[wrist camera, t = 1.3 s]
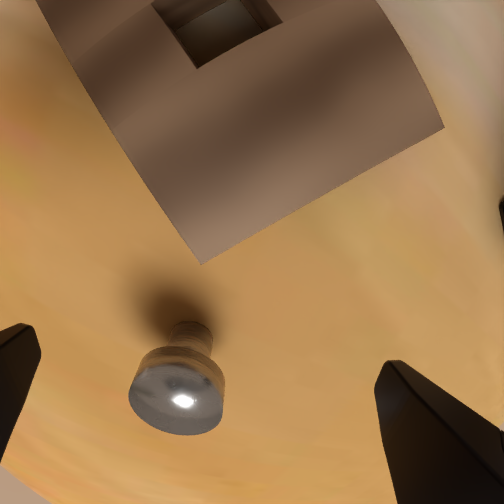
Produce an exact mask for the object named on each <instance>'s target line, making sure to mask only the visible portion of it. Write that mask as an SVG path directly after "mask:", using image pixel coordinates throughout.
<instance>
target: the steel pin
mask: <svg viewBox="0 0 504 504" xmlns="http://www.w3.org/2000/svg"><path fill="white" fill-rule="evenodd" d="M212 344H213V337H212V334H211V333H210V331H209V330H208V329H207V328H206V327H205V326H203V325H202V324H199V323H197V322H192V321H185V322H181V323H179V324H177V325H176V326H175V327H174V328H173V329H172V332H171V334H170V337H169V340H168V343H167V346H166V347H160V348H157V349H154V350H152V351H150V352H149V353H148V354H146V355H145V356H144V358H143V359H142V361H141V363H140V365H139V368H138V370H137V372H136V375H135V377H134V380H133V382H132V385H131V387H130V390H129V402H130V405H131V407H132V409H133V410H134V412H135V413H136V414H137V415H138V416H139V417H140V418H141V419H142V420H143V421H145V422H146V423H148V424H149V425H151V426H153V427H155V428H157V429H159V430H161V431H164V432H168V433H171V434H176V435H198V434H202V433H205V432H208V431H210V430H212V429H213V428H215V427H216V426H217V425H218V424H219V422H220V421H221V418H222V413H223V402H224V391H225V379H224V375H223V373H222V371H221V369H220V368H219V367H218V365H217V364H216V363H215V362H214V361H213V360H211V359H210V356H211V350H212Z"/></svg>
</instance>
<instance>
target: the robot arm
mask: <svg viewBox="0 0 504 504" xmlns="http://www.w3.org/2000/svg"><path fill="white" fill-rule="evenodd" d="M500 212H501V217H502V222H503V227H504V200H503V201H502V202H501V204H500ZM40 359H41V349H40V346H39V342H38V339H37V336H36V333H35V330H34V328H33V327H32V326H31V325H27V324H24V323H18V324H16V325H14V326H11V327H9V328H7V329H4V330H2V331H0V462H1V460H2V457H3V454H4V452H5V449H6V446H7V444H8V441H9V439H10V436H11V434H12V431H13V429H14V426H15V424H16V422H17V419H18V417H19V415H20V413H21V410H22V408H23V405H24V403H25V400H26V398H27V395H28V392H29V389H30V386H31V383H32V380H33V378H34V375H35V372H36V370H37V367H38V364H39V362H40ZM374 394H375V400H376V406H377V412H378V418H379V424H380V431H381V437H382V443H383V447H384V451H385V455H386V458H387V462H388V466H389V470H390V474H391V478H392V482H393V487H394V491H395V495H396V499H397V504H504V431H502V430H501V431H500V429H499V428H498V427H496V426H495V425H493V424H492V423H491V422H489V421H488V420H486V419H485V418H483V417H482V416H480V415H479V414H478V413H476V412H475V411H473V410H472V409H470V408H469V407H468V406H466V405H465V404H463V403H462V402H460V401H459V400H457V399H456V398H455V397H453V396H452V395H450V394H449V393H447V392H446V391H445V390H443V389H442V388H440V387H439V386H437V385H436V384H435V383H433V382H432V381H430V380H429V379H427V378H426V377H425V376H423V375H422V374H420V373H419V372H417V371H416V370H415V369H413V368H412V367H410V366H409V365H407V364H406V363H405V362H403V361H401V360H388V361H386V362H385V363H384V365H383V367H382V369H381V371H380V374H379V376H378V378H377V381H376V383H375V387H374Z"/></svg>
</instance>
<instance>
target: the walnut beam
mask: <svg viewBox="0 0 504 504" xmlns="http://www.w3.org/2000/svg"><path fill="white" fill-rule="evenodd" d="M226 1H228V0H36V2H37V4H38V6H39V7H40V9H41V11H42V13H43V15H44V17H45V19H46V21H47V22H48V24H49V26H50V28H51V30H52V32H53V33H54V35H55V37H56V39H57V41H58V42H59V44H60V46H61V48H62V49H63V51H64V53H65V55H66V57H67V58H68V60H69V62H70V63H71V65H72V67H73V69H74V70H75V72H76V74H77V76H78V77H79V79H80V81H81V82H82V84H83V86H84V87H85V89H86V91H87V92H88V94H89V96H90V97H91V99H92V101H93V102H94V104H95V106H96V107H97V109H98V111H99V112H100V114H101V115H102V117H103V119H104V120H105V122H106V123H107V125H108V127H109V128H110V130H111V131H112V133H113V135H114V136H115V138H116V139H117V141H118V143H119V144H120V146H121V147H122V149H123V150H124V152H125V154H126V155H127V157H128V158H129V160H130V161H131V163H132V164H133V166H134V167H135V169H136V171H137V172H138V174H139V175H140V177H141V178H142V180H143V181H144V183H145V184H146V186H147V187H148V189H149V190H150V192H151V193H152V195H153V196H154V198H155V199H156V201H157V202H158V204H159V205H160V207H161V208H162V210H163V211H164V212H165V214H166V215H167V217H168V218H169V220H170V221H171V223H172V224H173V226H174V227H175V229H176V230H177V231H178V233H179V234H180V236H181V237H182V239H183V240H184V241H185V243H186V244H187V246H188V247H189V249H190V250H191V251H192V253H193V254H194V256H195V257H196V259H197V260H198V261H199V263H200V264H201V265H202V264H203V263H205V262H207V261H209V260H210V259H212V258H214V257H215V256H217V255H219V254H221V253H222V252H224V251H226V250H228V249H229V248H231V247H233V246H235V245H236V244H238V243H240V242H241V241H243V240H245V239H247V238H248V237H250V236H252V235H254V234H255V233H257V232H259V231H261V230H262V229H264V228H266V227H268V226H269V225H271V224H273V223H275V222H276V221H278V220H280V219H282V218H283V217H285V216H287V215H289V214H290V213H292V212H294V211H296V210H297V209H299V208H301V207H303V206H304V205H306V204H308V203H310V202H312V201H313V200H315V199H317V198H319V197H320V196H322V195H324V194H326V193H328V192H329V191H331V190H333V189H335V188H336V187H338V186H340V185H342V184H344V183H345V182H347V181H349V180H351V179H353V178H354V177H356V176H358V175H360V174H361V173H363V172H365V171H367V170H369V169H370V168H372V167H374V166H376V165H378V164H379V163H381V162H383V161H385V160H387V159H389V158H390V157H392V156H394V155H396V154H398V153H399V152H401V151H403V150H405V149H407V148H409V147H410V146H412V145H414V144H416V143H418V142H419V141H421V140H423V139H425V138H427V137H429V136H431V135H432V134H434V133H436V132H438V131H440V130H442V129H443V128H445V127H444V125H443V122H442V120H441V117H440V115H439V113H438V110H437V108H436V106H435V104H434V102H433V99H432V97H431V95H430V93H429V91H428V89H427V87H426V85H425V83H424V81H423V79H422V77H421V75H420V73H419V71H418V69H417V67H416V65H415V63H414V62H413V60H412V58H411V56H410V54H409V53H408V51H407V49H406V47H405V46H404V44H403V42H402V40H401V39H400V37H399V35H398V34H397V32H396V31H395V29H394V27H393V26H392V24H391V23H390V21H389V20H388V18H387V16H386V15H385V13H384V12H383V10H382V9H381V7H380V6H379V5H378V3H377V2H376V0H240V1H241V2H242V3H243V5H244V6H245V7H246V9H247V10H248V11H249V12H250V14H251V15H252V16H253V18H254V19H255V21H256V22H257V23H258V25H259V26H260V27H261V29H262V30H263V33H261V34H259V35H257V36H255V37H253V38H251V39H249V40H247V41H245V42H243V43H241V44H239V45H238V46H236V47H234V48H232V49H230V50H229V51H227V52H225V53H223V54H221V55H220V56H218V57H216V58H215V59H213V60H211V61H210V62H208V63H206V64H205V65H203V66H201V67H200V68H199V66H198V65H197V63H196V62H195V60H194V59H193V58H192V56H191V55H190V53H189V52H188V50H187V49H186V47H185V46H184V45H183V43H182V42H181V40H180V39H179V37H178V36H177V35H176V33H175V32H174V31H175V30H176V29H178V28H180V27H181V26H183V25H185V24H186V23H188V22H190V21H191V20H193V19H195V18H196V17H198V16H200V15H202V14H203V13H205V12H207V11H209V10H211V9H213V8H214V7H216V6H218V5H220V4H222V3H224V2H226Z"/></svg>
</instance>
